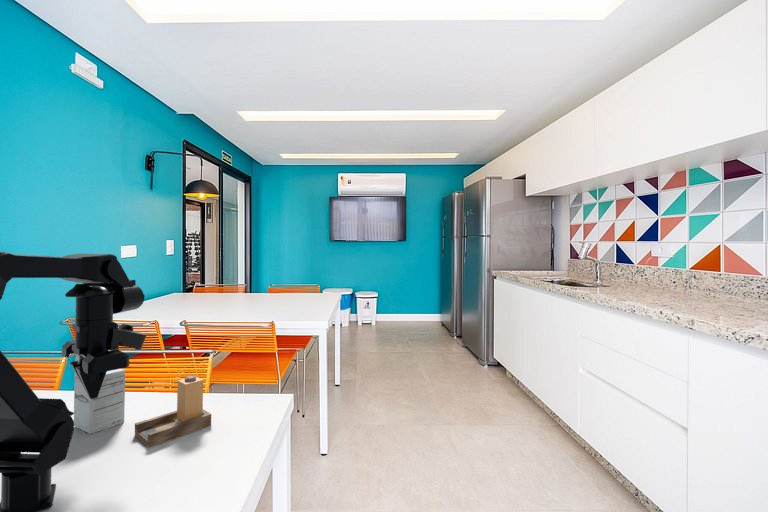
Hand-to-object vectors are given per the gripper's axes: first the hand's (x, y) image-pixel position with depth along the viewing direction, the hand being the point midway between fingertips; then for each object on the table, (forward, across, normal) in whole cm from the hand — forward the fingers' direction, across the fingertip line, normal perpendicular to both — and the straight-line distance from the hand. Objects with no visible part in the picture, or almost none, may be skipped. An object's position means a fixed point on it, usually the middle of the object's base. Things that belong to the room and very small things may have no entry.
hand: (93, 398), depth 71 cm
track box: (+12, 0, -15) cm, 19 cm away
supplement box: (+12, +16, -5) cm, 21 cm away
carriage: (+10, 0, -18) cm, 21 cm away
